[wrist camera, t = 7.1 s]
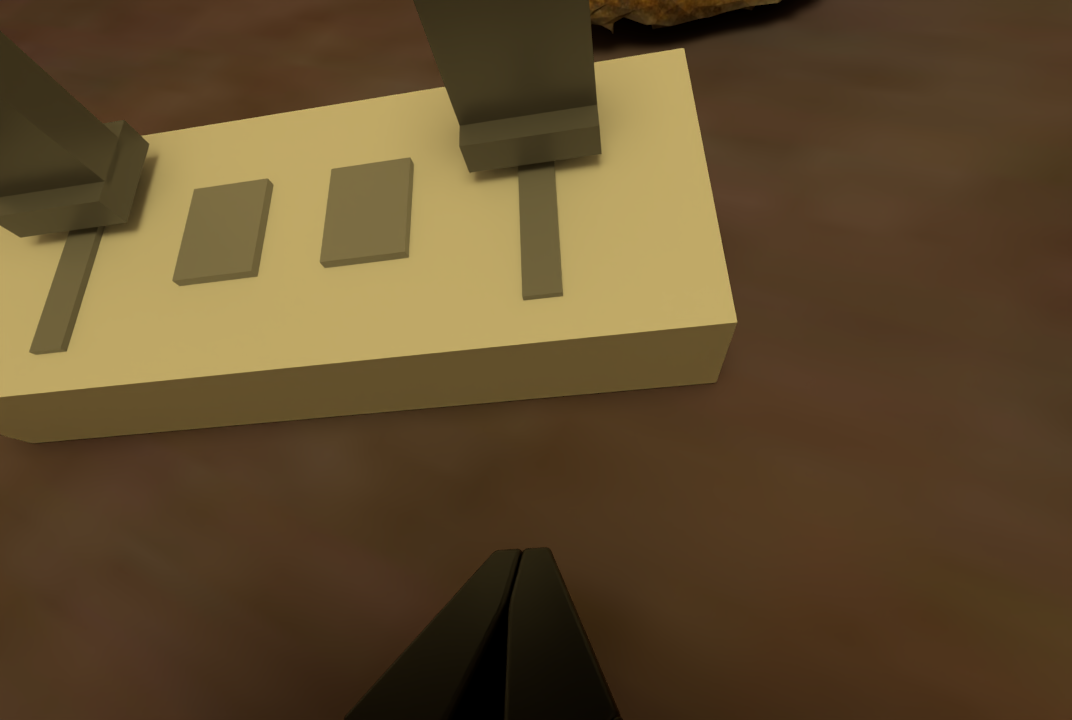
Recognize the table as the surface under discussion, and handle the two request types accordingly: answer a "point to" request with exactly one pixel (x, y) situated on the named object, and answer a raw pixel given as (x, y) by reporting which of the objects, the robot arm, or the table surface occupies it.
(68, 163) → the switch
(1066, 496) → the table surface
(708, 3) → the decorative rock
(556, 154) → the switch
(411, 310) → the cream lever base
